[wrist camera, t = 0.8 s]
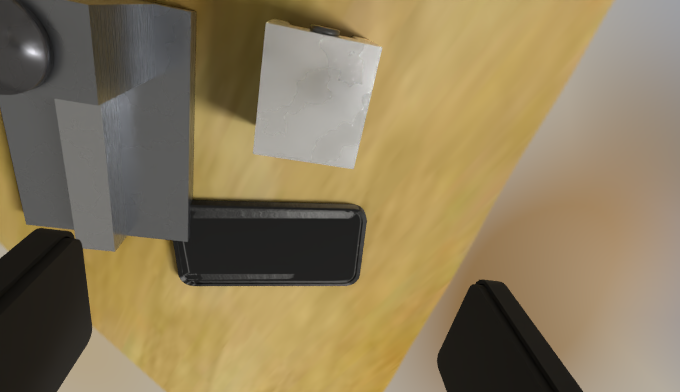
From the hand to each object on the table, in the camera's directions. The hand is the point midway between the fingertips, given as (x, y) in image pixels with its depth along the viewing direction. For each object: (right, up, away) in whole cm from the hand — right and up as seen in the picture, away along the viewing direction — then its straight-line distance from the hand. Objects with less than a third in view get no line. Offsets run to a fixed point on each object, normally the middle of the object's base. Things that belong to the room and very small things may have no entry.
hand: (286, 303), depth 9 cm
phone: (-4, -1, +21) cm, 22 cm away
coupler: (-14, +7, +15) cm, 22 cm away
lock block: (-1, +10, +15) cm, 18 cm away
